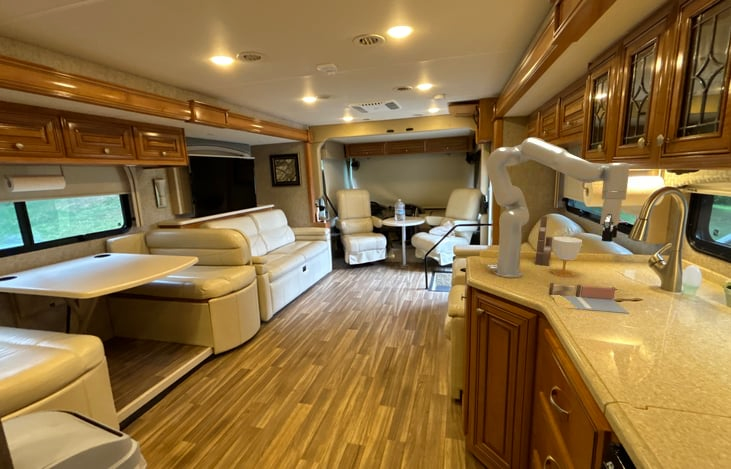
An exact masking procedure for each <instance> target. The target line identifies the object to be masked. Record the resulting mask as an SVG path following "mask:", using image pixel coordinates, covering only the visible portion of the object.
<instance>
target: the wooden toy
mask: <svg viewBox="0 0 731 469" xmlns="http://www.w3.org/2000/svg"><path fill="white" fill-rule="evenodd" d="M547 222H548V216H547V215H542V216H541V217H540V225H539V227H538V233H537V235H538V236H537V245H536V253H535V260H534V261H535V263H534V265H536V266H537V265H538V266H545V267H550V261H551V258H552V251H553V238H554V237H553V236H546V234H547V226H548V223H547Z"/></svg>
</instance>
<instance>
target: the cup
mask: <svg viewBox="0 0 731 469" xmlns="http://www.w3.org/2000/svg"><path fill="white" fill-rule="evenodd" d="M582 243H583V240H582V239H579V238H576V237H572V236H571V237H569V236H554V237H553V241H552V251H553V254H554V256H555V257H556V258H557V259H559V260H561V261H562V262H563V264H562V269H561V270H553V271H552V273H553V275H556V276H558V277H564V278H565V277H566V278H573V277H574V276H575V274H574V273H573V272H571V271H567V270H566V265H567V262H570V261H572V260H575V259H577V258H578V256H579V254H580V251H581V248H582Z"/></svg>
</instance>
